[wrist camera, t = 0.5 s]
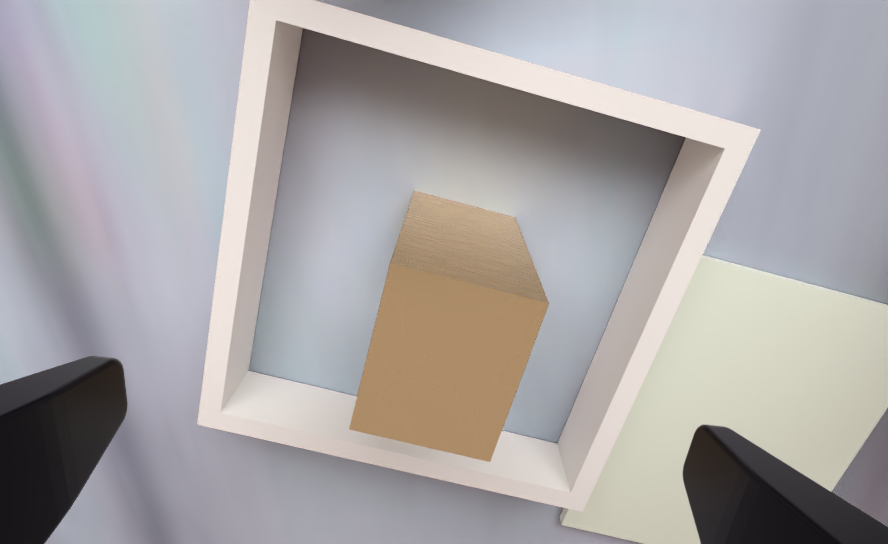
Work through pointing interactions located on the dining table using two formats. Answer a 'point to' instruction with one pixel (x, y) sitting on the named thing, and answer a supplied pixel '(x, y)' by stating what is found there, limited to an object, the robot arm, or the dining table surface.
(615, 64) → the dining table surface
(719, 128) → the white square frame
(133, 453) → the dining table surface
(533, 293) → the block
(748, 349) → the rubber pad
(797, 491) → the robot arm
